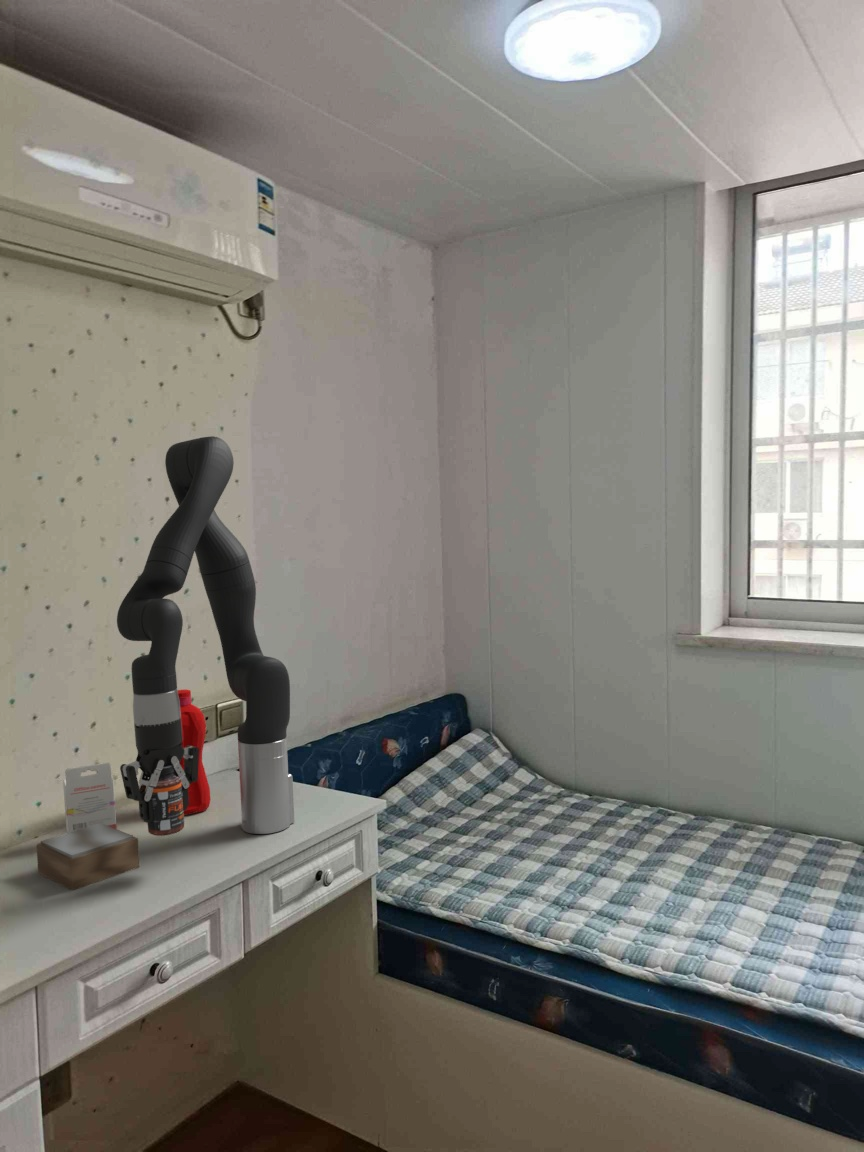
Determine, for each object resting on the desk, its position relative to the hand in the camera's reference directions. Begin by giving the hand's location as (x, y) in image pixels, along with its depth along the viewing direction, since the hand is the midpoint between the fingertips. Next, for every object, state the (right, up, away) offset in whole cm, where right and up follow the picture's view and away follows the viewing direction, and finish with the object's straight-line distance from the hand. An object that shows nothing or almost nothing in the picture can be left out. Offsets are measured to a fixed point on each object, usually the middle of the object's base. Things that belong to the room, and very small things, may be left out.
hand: (165, 815), depth 148 cm
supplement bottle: (0, -3, 0) cm, 3 cm away
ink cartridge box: (-19, -10, +18) cm, 28 cm away
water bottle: (-7, -8, +35) cm, 36 cm away
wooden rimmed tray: (-14, -10, +3) cm, 18 cm away
